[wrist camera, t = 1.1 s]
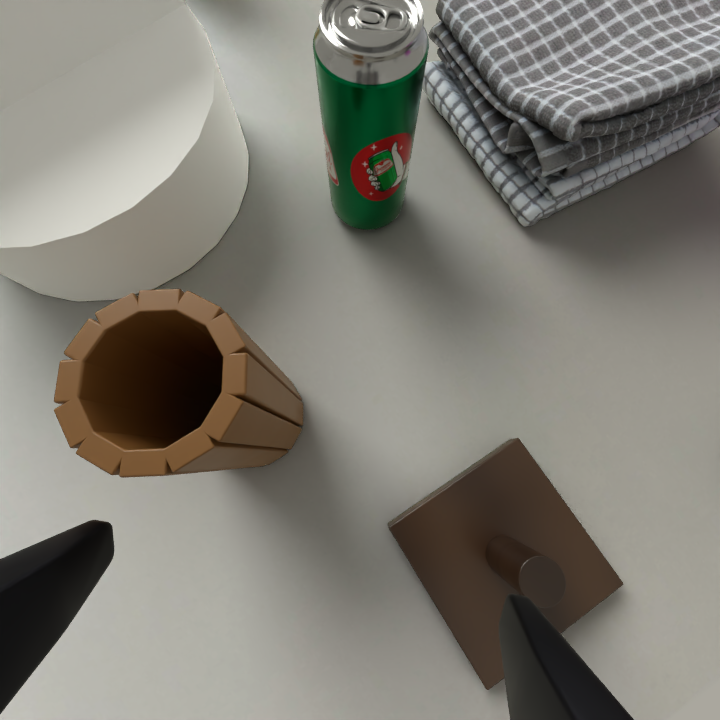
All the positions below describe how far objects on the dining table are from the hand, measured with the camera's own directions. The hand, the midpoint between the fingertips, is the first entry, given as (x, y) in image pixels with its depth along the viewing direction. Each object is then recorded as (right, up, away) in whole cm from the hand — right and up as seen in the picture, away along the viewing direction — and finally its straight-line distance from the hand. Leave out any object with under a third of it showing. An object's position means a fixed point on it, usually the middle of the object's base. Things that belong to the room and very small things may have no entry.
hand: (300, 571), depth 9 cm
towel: (+16, +24, +21) cm, 36 cm away
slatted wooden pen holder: (-5, +1, +15) cm, 16 cm away
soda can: (+2, +16, +19) cm, 25 cm away
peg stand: (+9, -6, +13) cm, 17 cm away
